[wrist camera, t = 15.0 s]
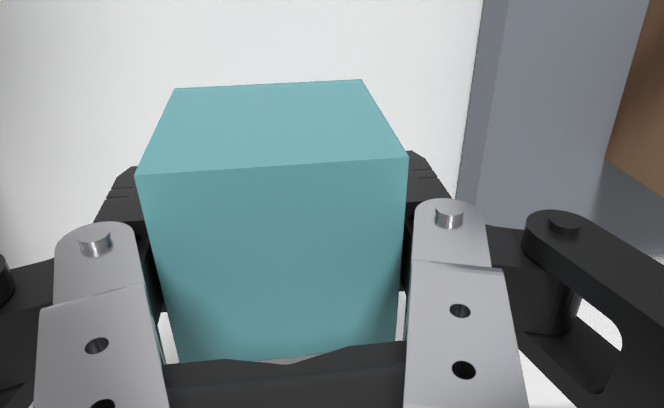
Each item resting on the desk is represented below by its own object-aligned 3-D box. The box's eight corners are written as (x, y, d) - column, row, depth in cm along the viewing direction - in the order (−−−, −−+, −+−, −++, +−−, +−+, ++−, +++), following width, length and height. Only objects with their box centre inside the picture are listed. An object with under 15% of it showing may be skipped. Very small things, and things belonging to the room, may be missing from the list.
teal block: (173, 88, 12) (133, 175, 8) (361, 79, 12) (408, 157, 8) (202, 243, 14) (181, 368, 10) (358, 230, 14) (394, 346, 11)
